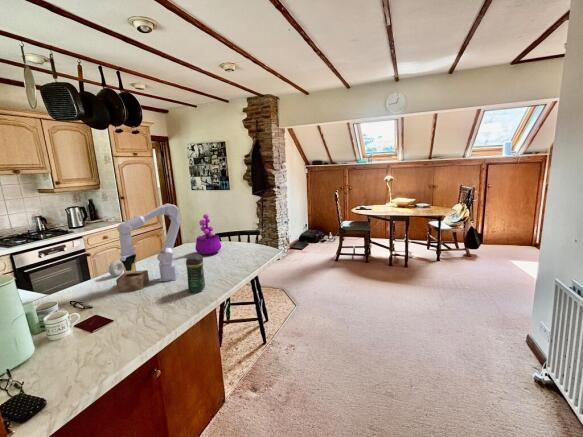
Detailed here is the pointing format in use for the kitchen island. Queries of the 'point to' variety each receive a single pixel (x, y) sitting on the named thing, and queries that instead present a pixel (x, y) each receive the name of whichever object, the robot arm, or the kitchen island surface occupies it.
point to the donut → (113, 266)
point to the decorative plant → (207, 238)
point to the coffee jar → (195, 273)
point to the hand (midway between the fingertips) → (130, 269)
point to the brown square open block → (132, 280)
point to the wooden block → (133, 268)
